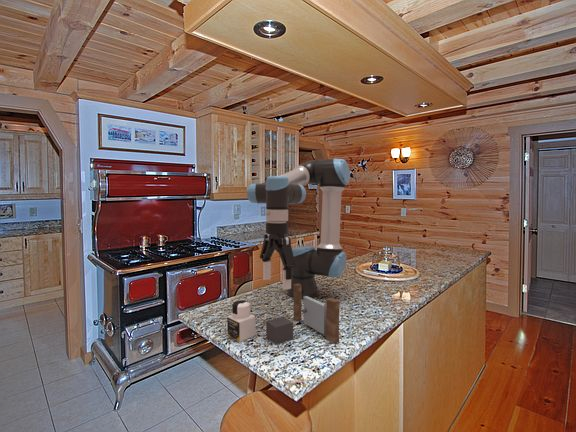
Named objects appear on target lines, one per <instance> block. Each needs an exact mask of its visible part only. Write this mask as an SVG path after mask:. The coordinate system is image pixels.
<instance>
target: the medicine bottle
mask: <svg viewBox="0 0 576 432" xmlns="http://www.w3.org/2000/svg"><path fill="white" fill-rule="evenodd" d="M231 306H232V307H231V309H232V314H230V315H227V318H226V321H227V325H226V328H227V336H228V337H229V338H231V339H233V340H235V341H236V342H238V343H242V342H243V341H246V340H249V339H250V338H253V337H256V335H257V331H256V330H257V329H256V327H257V324H256V322H257V321H256V320H257V319H256V316H255V315H254V314H252V313H251V303H250V302H249V301H247V300H244V299H243V300H241V299H240V300H237V301H234V302H233V303H232V305H231Z"/></svg>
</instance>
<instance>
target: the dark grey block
mask: <svg viewBox="0 0 576 432" xmlns="http://www.w3.org/2000/svg"><path fill="white" fill-rule="evenodd" d="M265 324H266V333H265V335H266V338H265V339H268V340H269V341H270V342H271V343H273V344H274V345H275V346H276V345H279V344H283V343H285V342H289V341H291V340H294V322H293V321H291V320H290V319H289V318H288V317H287V318H286V317H285V316H281V317H280V316H279V317H277V318H273V319H269V320H266V322H265Z"/></svg>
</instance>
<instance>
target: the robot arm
mask: <svg viewBox="0 0 576 432" xmlns="http://www.w3.org/2000/svg"><path fill="white" fill-rule="evenodd" d="M348 164H349V163H348V162H347V161H346V160H345V159H344V158H326V159H325V158H324V159H323V158H322V159H313V160H309V161H306V162H302V163H301V164H298V165H296V166H294V167H293V168H292V169H291V171H287V172H285V173H283V174H281V175H269V176H267V178H266V180H265V181H264V182H261V183H251V184H249V186H248V187H247V189H246V196H247V199H248V201H249V202H250V203H253V204H258V205H259V204H265V221H267V222H265V233H266V234H264V235H263V242H262V247H261V251H260V255H259V259H261V260H262V262H263V265H262V268H263V269H262V271H263V273H262V276H263V278H262V279H263V281H269V280H271V279H272V256H273V254H274V252H275V251H276V253H278V254H279V258H280V260H281V263H282V264H283V268H282V290H284V291H285V290H286V294H287V296H289V297H291V298H294V296H293V285H294V284H301V285H302V299H303V297H304V296H308V297H310V298H312V299H313V298H315V297H317V296H318V295H319V288H318V284H317V281H316V278H315V275H317V276H323V277H327V278H328V277H329V278H340V277H341V276H342V275H343V273H344V272H345V269H346V265H347V253H346V252H344V251H343V247H342V246H341V244H340V238H341V237H340V235H341V216H342V215H341V214H342V212H341V211H342V210H341V209H342V192H343V191H344V190H345V189H346V185H348V184H350V182H351V181H350V180H351V172H350V171H351V170H350V167H349V165H348ZM307 185H319V189H320V190H321V192H322V200H321V201H322V204H321V222H320V223H321V228H320V229H321V230H320V243H319V244H318V245H317V246H316V247H315V246H314V245H300V246H296V247H292V241H291V238H290V237H285V235H287V234H288V233H289V223H288V221H289V205H297V204H301V203H303V202H304V201H305V199H306V197H307V190H306V188H305V187H304V186H307Z"/></svg>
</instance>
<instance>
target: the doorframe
mask: <svg viewBox="0 0 576 432" xmlns="http://www.w3.org/2000/svg"><path fill="white" fill-rule="evenodd" d="M293 296H294V297H293V320H294V321H295V322H299V321H302V318H303V317H302V316H303V312H302V309H303V308H302V306H303V305H302V303H303V302H302V301H303V300H302V285H301V284H294V285H293ZM326 304H327V312H326V337H325V338H326V339H325V340H326V341H328V342H330V343H332V344H336V343H339V342H340V300H338V299H336V298H334V297H330V298H326Z"/></svg>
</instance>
